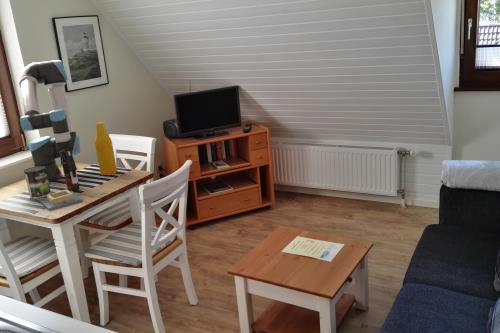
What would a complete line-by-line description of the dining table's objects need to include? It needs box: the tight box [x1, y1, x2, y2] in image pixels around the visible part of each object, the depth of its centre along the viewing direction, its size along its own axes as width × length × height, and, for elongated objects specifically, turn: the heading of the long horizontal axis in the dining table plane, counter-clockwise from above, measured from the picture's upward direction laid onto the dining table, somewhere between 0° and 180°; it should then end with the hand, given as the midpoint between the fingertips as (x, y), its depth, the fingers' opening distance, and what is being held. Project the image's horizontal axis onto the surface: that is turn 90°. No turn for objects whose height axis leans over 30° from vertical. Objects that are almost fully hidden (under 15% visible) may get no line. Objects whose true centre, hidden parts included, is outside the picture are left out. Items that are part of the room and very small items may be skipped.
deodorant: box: [61, 161, 81, 193], centre depth 265 cm, size 6×6×15 cm
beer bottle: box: [94, 121, 118, 176], centre depth 287 cm, size 9×9×29 cm
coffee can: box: [23, 166, 52, 199], centre depth 263 cm, size 10×10×14 cm
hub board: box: [38, 189, 84, 212], centre depth 251 cm, size 18×16×4 cm
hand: (71, 180), depth 266 cm, fingers open, 13 cm apart
